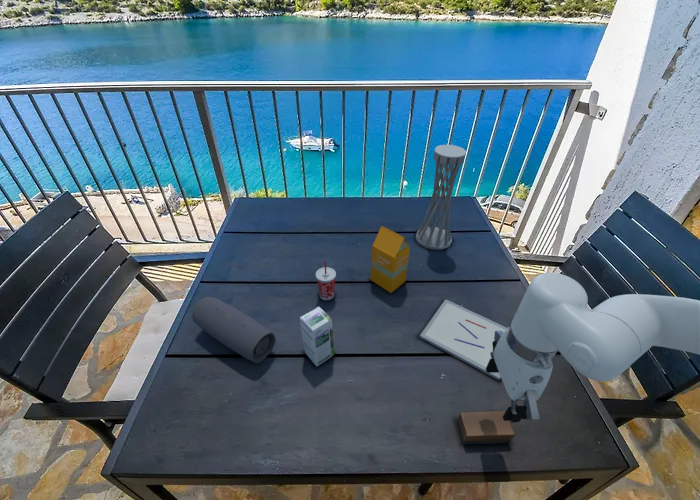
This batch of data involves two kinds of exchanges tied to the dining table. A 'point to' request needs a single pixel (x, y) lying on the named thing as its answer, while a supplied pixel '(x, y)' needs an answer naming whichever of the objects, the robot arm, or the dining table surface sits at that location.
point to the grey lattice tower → (434, 235)
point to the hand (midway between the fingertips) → (501, 393)
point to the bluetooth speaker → (234, 329)
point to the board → (463, 335)
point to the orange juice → (389, 259)
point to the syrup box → (317, 335)
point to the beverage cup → (326, 282)
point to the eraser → (484, 427)
